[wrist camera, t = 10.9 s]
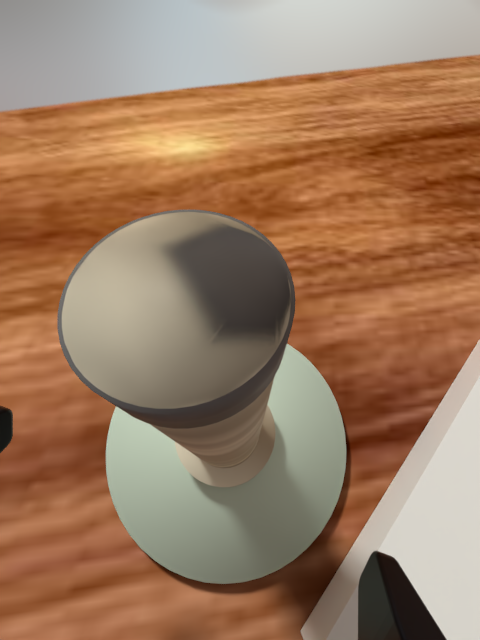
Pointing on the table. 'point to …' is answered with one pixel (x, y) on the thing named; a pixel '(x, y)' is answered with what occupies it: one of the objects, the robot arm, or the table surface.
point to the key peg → (185, 334)
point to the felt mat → (239, 501)
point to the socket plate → (424, 524)
